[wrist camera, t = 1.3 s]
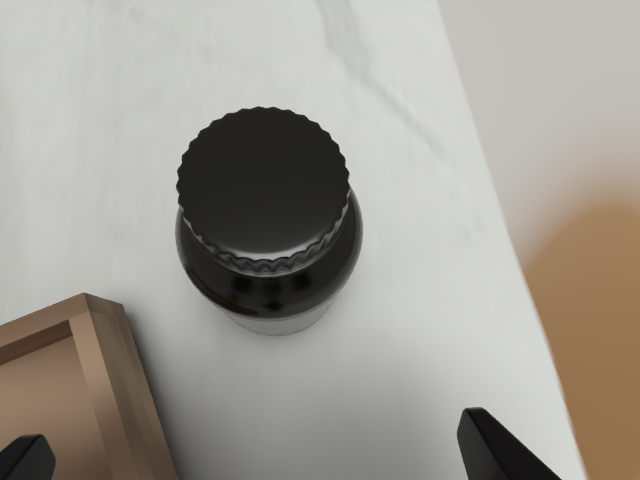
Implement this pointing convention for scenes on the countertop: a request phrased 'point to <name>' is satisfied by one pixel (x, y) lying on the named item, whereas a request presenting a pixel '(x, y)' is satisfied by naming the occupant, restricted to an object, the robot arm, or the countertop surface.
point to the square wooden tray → (82, 392)
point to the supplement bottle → (267, 219)
